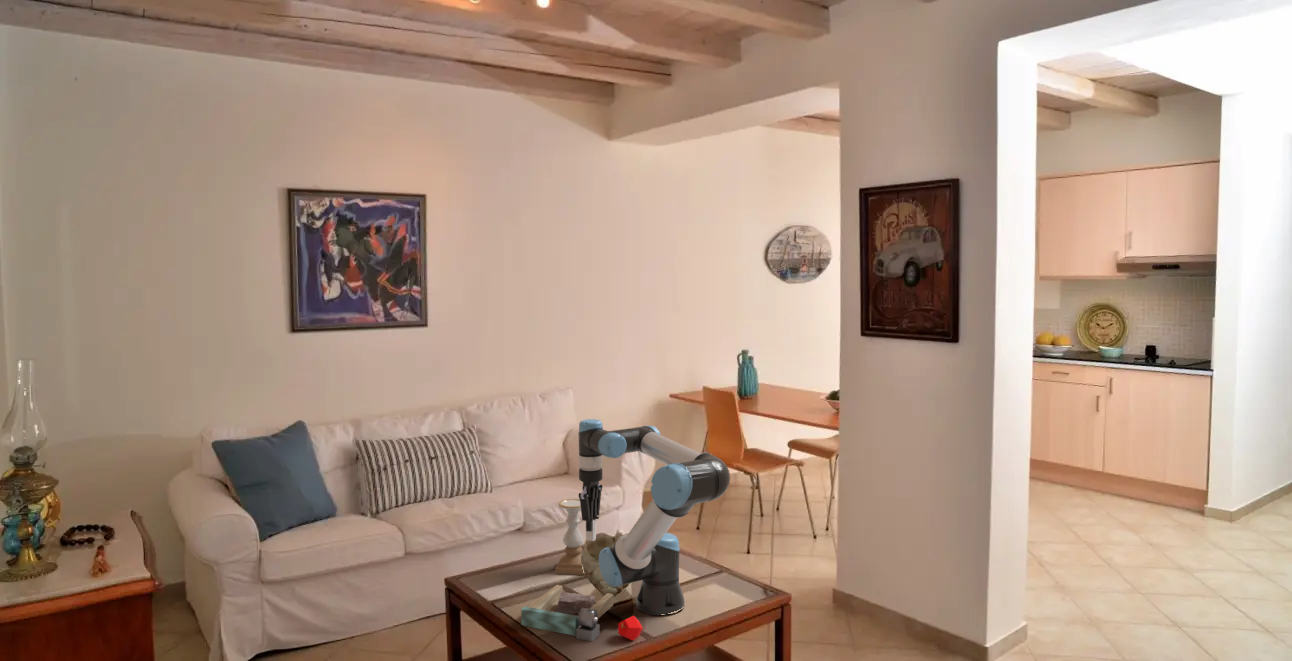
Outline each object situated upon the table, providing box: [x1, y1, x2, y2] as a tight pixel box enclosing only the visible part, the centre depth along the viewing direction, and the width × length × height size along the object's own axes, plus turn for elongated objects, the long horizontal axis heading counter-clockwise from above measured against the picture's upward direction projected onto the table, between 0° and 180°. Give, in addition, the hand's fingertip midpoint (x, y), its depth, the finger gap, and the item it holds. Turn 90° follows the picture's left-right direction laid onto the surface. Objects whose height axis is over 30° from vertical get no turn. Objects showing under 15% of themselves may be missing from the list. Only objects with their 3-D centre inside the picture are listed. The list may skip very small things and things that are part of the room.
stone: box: [556, 592, 596, 615], centre depth 258 cm, size 9×12×5 cm
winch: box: [575, 608, 601, 642], centre depth 239 cm, size 6×5×8 cm
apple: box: [617, 615, 644, 641], centre depth 238 cm, size 7×7×8 cm
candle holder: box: [554, 498, 585, 576], centre depth 292 cm, size 11×11×24 cm
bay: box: [520, 584, 614, 637], centre depth 254 cm, size 20×24×5 cm
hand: (590, 539), depth 268 cm, fingers closed
